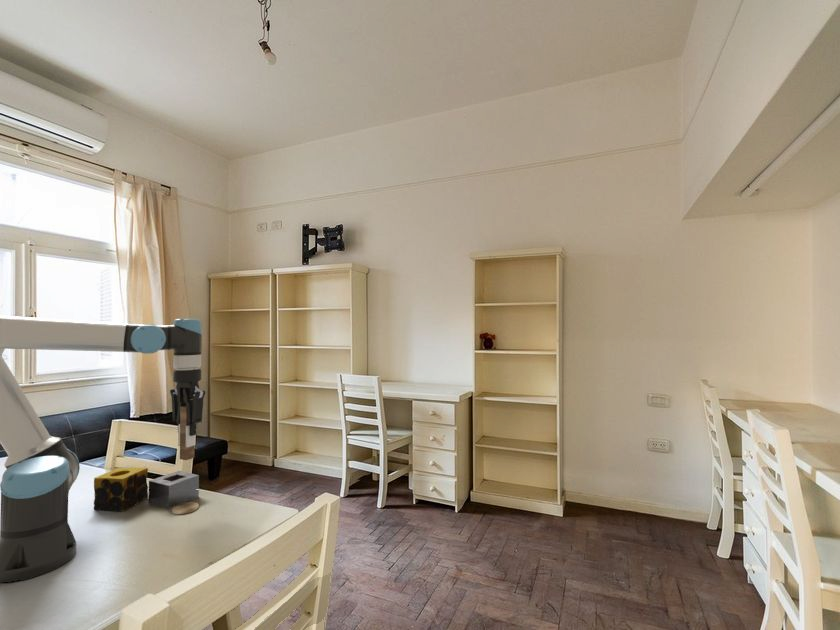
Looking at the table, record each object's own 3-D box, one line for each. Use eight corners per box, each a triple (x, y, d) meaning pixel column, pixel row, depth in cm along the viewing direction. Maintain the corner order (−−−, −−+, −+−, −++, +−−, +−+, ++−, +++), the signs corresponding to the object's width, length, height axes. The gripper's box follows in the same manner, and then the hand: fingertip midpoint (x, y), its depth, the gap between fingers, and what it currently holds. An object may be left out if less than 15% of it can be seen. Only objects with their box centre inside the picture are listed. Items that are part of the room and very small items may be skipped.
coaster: (181, 516, 120) (181, 514, 120) (166, 511, 123) (166, 509, 123) (203, 506, 126) (203, 505, 126) (188, 502, 129) (188, 500, 129)
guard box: (168, 508, 125) (168, 485, 125) (148, 503, 129) (148, 480, 129) (198, 496, 134) (198, 475, 134) (178, 491, 138) (179, 470, 138)
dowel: (185, 460, 123) (186, 407, 124) (179, 459, 124) (180, 406, 125) (194, 457, 126) (194, 405, 126) (188, 456, 127) (188, 404, 127)
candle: (148, 498, 133) (149, 467, 133) (123, 512, 123) (124, 478, 123) (120, 497, 134) (120, 466, 134) (92, 510, 124) (93, 477, 124)
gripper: (216, 368, 126) (215, 445, 125) (182, 366, 133) (181, 439, 132) (193, 370, 119) (192, 452, 118) (159, 368, 126) (158, 445, 125)
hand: (186, 445), depth 125 cm, fingers closed on dowel, 3 cm apart
